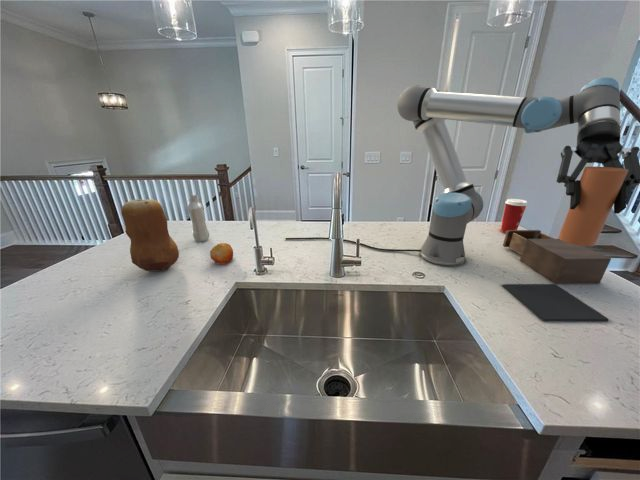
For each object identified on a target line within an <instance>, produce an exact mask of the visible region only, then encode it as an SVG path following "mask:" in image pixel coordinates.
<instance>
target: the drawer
mask: <svg viewBox="0 0 640 480" xmlns="http://www.w3.org/2000/svg"><path fill="white" fill-rule="evenodd" d="M504 234H505V236H504V240H503V243H502V247H504V248H509V249H510V250H511V251H513V252H515V253H517V254H518V255H520V256H522V253H523V250H524V247H525V244H526V241H527V239H555V238H554V237H552V236H550V235H548V234H546V233H544V232H542V230H540V229H517V230H507V231H506V232H505V233H504Z"/></svg>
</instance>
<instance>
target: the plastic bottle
mask: <svg viewBox="0 0 640 480" xmlns="http://www.w3.org/2000/svg"><path fill="white" fill-rule="evenodd" d="M188 202H189V204H188V205H187V209H186V210H187V213H188V216H189V218H190V222H191V227H192V237H193V239H194V241H196V242H204V241H207V240H209V239H210V232H209V229H208V226H207V223H206V217H205V207H204V205H203V203H201V202H200V198H199V195H197V194H194V195H193V194H192V195H189V196H188Z"/></svg>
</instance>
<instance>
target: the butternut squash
mask: <svg viewBox="0 0 640 480" xmlns="http://www.w3.org/2000/svg"><path fill="white" fill-rule="evenodd" d="M120 213H121V216H122V219H123V222H124V226H125V235H127V237H128V238H129V239H130V247H129V253H130V258H131V263H132V264H134V266H136V267H138V268H139V269H141V270H143V271H146V272H154V271H158V272H163V271H164V270H168V269H169V268H170V267H171V266H174V264H175V263H176V262H177V261H178V259H179V256H180V252H179V248H178V245H177V242H176V241H175V240H174V239H173V237H172V236H171V235H170V233H169V229H168V228H169V227H168V219H167V217H166V216H167V215H166V213H165V210H164V208H163V206H162V204H161V203H160V202H159V201H158V200H156V199H152V198H151V199H140V198H138V199H137V198H136V199H131V200H129V201H126V202H125V203H124V204H123V205H122V207H121V212H120Z"/></svg>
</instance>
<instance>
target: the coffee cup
mask: <svg viewBox="0 0 640 480" xmlns="http://www.w3.org/2000/svg"><path fill="white" fill-rule="evenodd" d="M504 203H505V205H504V211H503V215H502V221H501V225H500V232H501V233H502V234H505V232H506V231H507V230H519V229H518V228H519V226H520V223H521V221H522V218H523V215H524V213H525V210H526V207H527V206H528V201H527V200H525V199H519V198H507V199H506V201H505V202H504Z"/></svg>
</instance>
